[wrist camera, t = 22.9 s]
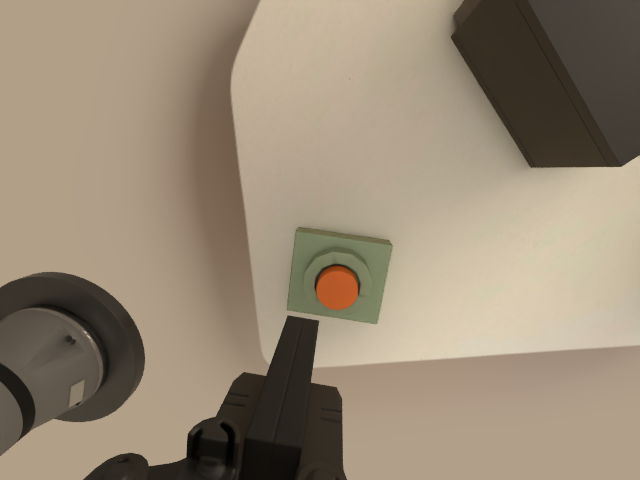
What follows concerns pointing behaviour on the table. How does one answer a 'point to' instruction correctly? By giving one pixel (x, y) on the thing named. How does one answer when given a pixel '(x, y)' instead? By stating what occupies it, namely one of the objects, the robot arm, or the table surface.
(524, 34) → the dark lidded box
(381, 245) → the control block
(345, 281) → the orange button
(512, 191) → the table surface
